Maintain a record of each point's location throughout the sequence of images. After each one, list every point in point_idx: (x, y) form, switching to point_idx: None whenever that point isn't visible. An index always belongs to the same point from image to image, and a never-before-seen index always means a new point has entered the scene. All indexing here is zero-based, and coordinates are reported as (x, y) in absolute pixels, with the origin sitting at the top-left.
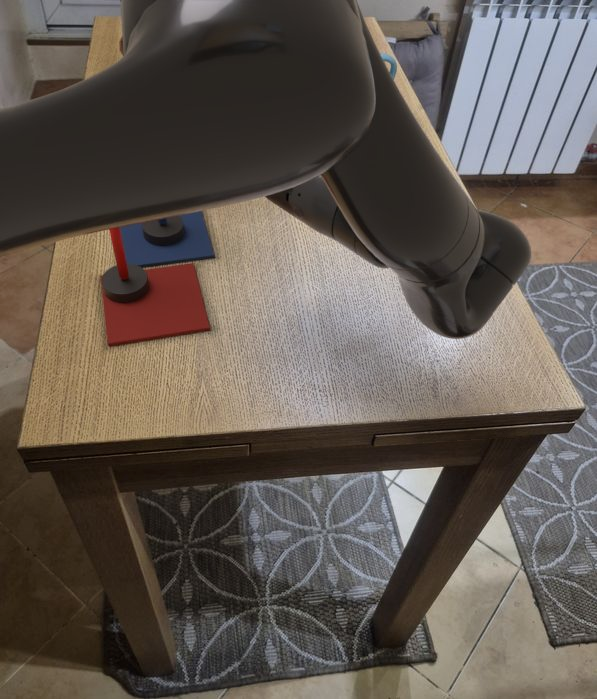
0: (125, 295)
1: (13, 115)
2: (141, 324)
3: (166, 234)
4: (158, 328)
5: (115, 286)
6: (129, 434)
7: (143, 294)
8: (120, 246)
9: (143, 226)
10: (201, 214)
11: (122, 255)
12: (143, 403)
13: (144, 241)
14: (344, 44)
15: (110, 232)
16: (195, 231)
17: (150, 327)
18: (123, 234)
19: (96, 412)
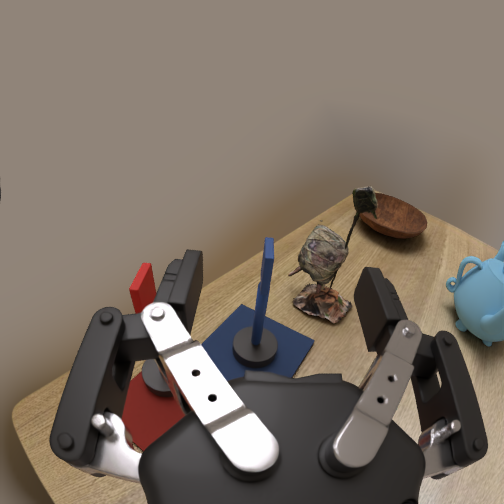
0: (147, 385)
1: None
2: (135, 419)
3: (246, 356)
4: (140, 436)
5: (150, 371)
6: (39, 474)
7: (167, 396)
8: None
9: (237, 334)
10: (305, 354)
11: None
12: (67, 471)
13: (230, 346)
14: None
15: None
16: (281, 368)
17: (137, 428)
18: (223, 327)
19: (43, 440)
